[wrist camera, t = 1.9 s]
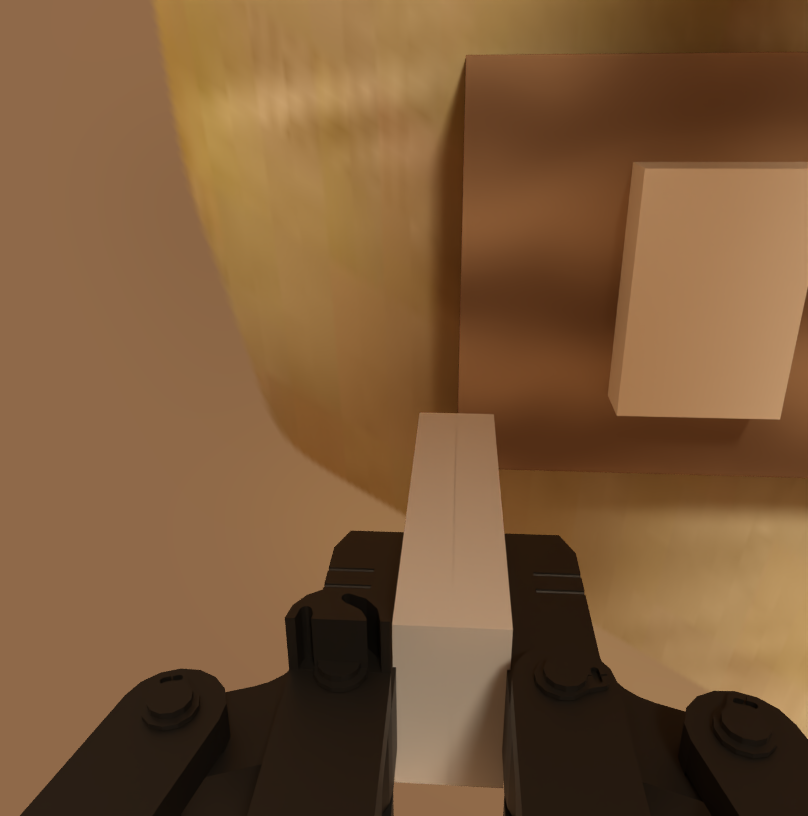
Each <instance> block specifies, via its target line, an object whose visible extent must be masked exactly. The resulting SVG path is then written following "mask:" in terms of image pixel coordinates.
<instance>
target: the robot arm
mask: <svg viewBox="0 0 808 816" xmlns="http://www.w3.org/2000/svg"><path fill="white" fill-rule="evenodd" d="M285 625H286V636H287V648H288V659H289V671H288V672H287V673H285V674H284V675H283V676H281V677H279V678H276V679H275V680H273V681H270V682H268V683H264V684H261V685H258V686H254V687H249V688H245V689H239V690H234V691H230V692H225V688H224V687H223V686H222V684H221V683H220V682H219V681H218V679H217V678H216V677H214V676H212V675H210V674H208V673H205V672H203V671H201V670H192V669H177V670H172V671H167V672H162V673H159V674H157V675H155V676H153V677H151V678H148V679H146V680H144V681H142V682H140V683H139V684H138V685H137V686H136V687H134V688H133V689H132V690H131V691H130V692H128V693H127V694H126V695H125V696H124V697H123V698H122V700H121V701H120V702H119V703H118V704H117V705H116V706H115V708H114V709H113V710H112V711H111V712H110V713H109V714H108V716H107V717H106V718H105V719H104V720H103V721H102V722H101V724H100V725H99V726H98V727H97V728H96V729H95V730H94V732H93V733H92V734H91V735H90V736H89V737H88V738H87V740H86V741H85V742H84V743H83V744H82V745H81V747H80V748H79V749H78V750H77V751H76V752H75V753H74V755H73V756H72V757H71V758H70V759H69V760H68V761H67V762H66V764H65V765H64V766H63V767H62V768H61V769H60V770H59V772H58V773H57V774H56V775H55V776H54V778H53V779H52V780H51V781H50V782H49V783H48V784H47V786H46V787H45V788H44V789H43V790H42V791H41V792H40V794H39V795H38V796H37V797H36V798H35V799H34V800H33V801H32V803H31V804H30V805H29V806H28V807H27V808H26V809H25V811H24V812H23V813H22V814H21V815H20V816H394V815H393V787H394V786H393V785H394V777H395V782H400V783H420V784H437V785H455V786H456V785H457V786H473V787H491V788H503V781H504V793H505V796H504V812H503V813H504V814H503V816H808V739H807V738H806V736H805V735H804V734H803V733H802V732H801V730H800V729H799V728H798V727H797V725H796V724H795V723H793V722H792V721H791V720H790V719H789V718H788V717H787V716H786V715H785V714H784V713H782V712H781V711H780V710H779V709H778V708H776V707H774V706H772V705H770V704H768V703H767V702H765V701H763V700H761V699H759V698H757V697H753V696H750V695H746V694H743V693H739V692H735V691H712V692H709V693H706V694H704V695H700V696H697V697H696V698H695V699H694V700H693V701H692V702H691V703H690V705H689V706H688V707H687V708H686V712H684V711H681V710H678V709H674V708H671V707H667V706H664V705H660V704H657V703H654V702H651V701H649V700H646V699H643V698H640V697H638V696H636V695H635V694H633V693H631V692H629V691H628V690H626V689H624V688H623V687H622V686H621V685H620V684H618V683H617V681H616V679H615V677H614V675H613V673H612V671H611V670H610V668H609V667H607V666H606V665H605V664H604V663H603V662H602V661H601V659H600V656H599V652H598V647H597V643H596V639H595V635H594V631H593V626H592V622H591V617H590V613H589V609H588V604H587V600H586V596H585V595H584V587H583V583H582V579H581V578H580V570H579V566H578V561H577V557H576V553H575V552H574V551H573V550H572V549H571V548H570V547H569V546H568V545H567V544H566V543H565V541H564V540H563V539H562V538H561V537H560V536H559V535H528V534H504V524H503V512H502V501H501V490H500V479H499V467H498V456H497V445H496V434H495V422H494V414H466V413H421V412H420V413H419V420H418V428H417V436H416V444H415V451H414V459H413V467H412V474H411V482H410V490H409V498H408V505H407V513H406V521H405V529H404V532H373V531H351V532H349V533H348V534H347V535H346V536H345V537H344V538H343V539H342V540H341V541H340V542H339V543H338V544H337V545H336V546H335V547H334V551H333V555H332V558H331V562H330V566H329V571H328V573H327V576H326V580H325V587H324V588H323V590H320V591H318V592H315V593H312V594H309V595H306V596H305V597H304V598H302V599H301V600H299V601H298V602H297V603H295V604H294V605H293V606H292V607H291V609H290V610H289V612H288V614H287V615H286V617H285Z"/></svg>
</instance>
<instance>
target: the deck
mask: <svg viewBox="0 0 808 816" xmlns="http://www.w3.org/2000/svg"><path fill="white" fill-rule="evenodd" d="M633 162H808V52H744V53H636V54H528V55H466V78H465V122H464V165H463V209H462V252H461V296H460V339H459V383H458V413H466V414H494V422H495V434H496V445H497V456H498V467H499V469H511V470H547V471H582V472H618V473H654V474H690V475H726V476H762V477H797V478H808V288H807V293H806V298H805V303H804V307H803V312H802V317H801V322H800V327H799V331H798V336H797V341H796V346H795V350H794V355H793V360H792V365H791V370H790V374H789V379H788V384H787V389H786V393H785V398H784V403H783V408H782V413H781V417H780V420H778V419H734V418H690V417H647V416H617V415H616V413H615V411H614V409H613V406H612V404H611V402H610V399H609V397H608V388H609V379H610V370H611V361H612V351H613V342H614V333H615V324H616V314H617V305H618V296H619V287H620V277H621V268H622V259H623V250H624V240H625V231H626V222H627V213H628V204H629V194H630V185H631V176H632V167H633Z"/></svg>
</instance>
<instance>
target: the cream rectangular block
mask: <svg viewBox="0 0 808 816" xmlns="http://www.w3.org/2000/svg"><path fill="white" fill-rule="evenodd" d="M807 288H808V162H633V167H632V176H631V185H630V194H629V204H628V213H627V222H626V231H625V240H624V250H623V259H622V268H621V277H620V287H619V296H618V305H617V314H616V324H615V333H614V342H613V351H612V361H611V370H610V379H609V388H608V397H609V399H610V402H611V404H612V406H613V409H614V411H615V413H616V415H617V416H647V417H690V418H734V419H778V420H780V417H781V413H782V408H783V403H784V398H785V393H786V389H787V384H788V379H789V374H790V370H791V365H792V360H793V355H794V350H795V346H796V341H797V336H798V331H799V327H800V322H801V317H802V312H803V307H804V303H805V298H806V293H807Z"/></svg>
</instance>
